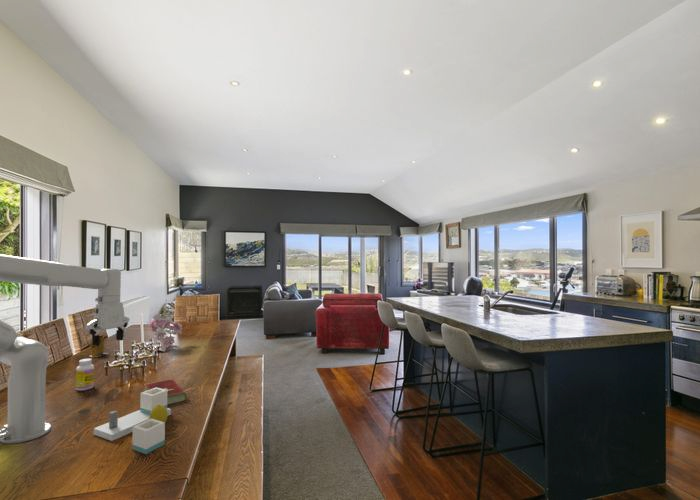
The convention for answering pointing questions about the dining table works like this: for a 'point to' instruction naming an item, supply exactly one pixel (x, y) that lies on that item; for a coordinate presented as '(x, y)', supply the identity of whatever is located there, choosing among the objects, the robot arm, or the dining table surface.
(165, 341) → the flower
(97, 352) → the condiment
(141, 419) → the pin board
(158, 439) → the sleeve
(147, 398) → the seated sleeve
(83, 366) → the supplement bottle
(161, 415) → the lemon
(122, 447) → the dining table surface
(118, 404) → the dining table surface
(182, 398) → the hardcover book
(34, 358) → the robot arm
